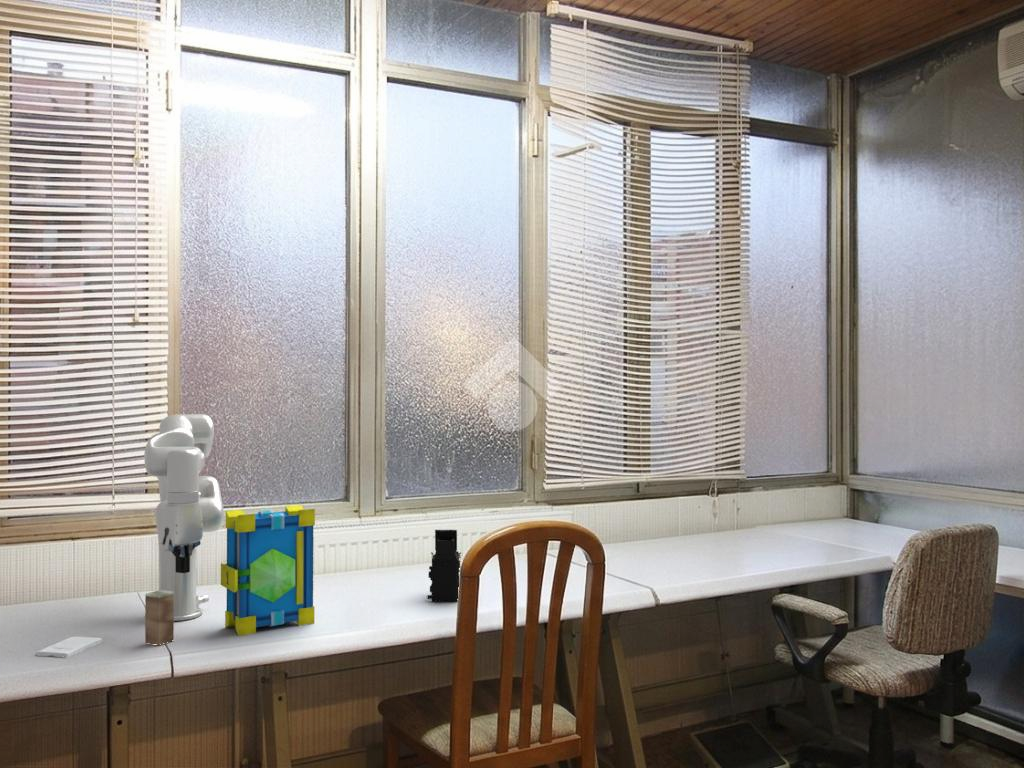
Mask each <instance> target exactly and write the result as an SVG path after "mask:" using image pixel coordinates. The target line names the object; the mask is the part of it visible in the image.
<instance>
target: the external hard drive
mask: <svg viewBox="0 0 1024 768" xmlns="http://www.w3.org/2000/svg"><path fill="white" fill-rule="evenodd" d="M99 642H101V643H102V638H101V637H92V636H91V637H89V636H88V637H87V636H74V635H73V636H70V637H68V638H65V639H63V640H61V641H58V642H56V643H54V644H52V645H49V646H47V647H44V648H42V649H39V650H37V651H35V656H36V655H37V657H38V656H39V657H54V656H60V657H59V658H66V657H67V658H69V656H70V657H71V655H72V656H74V655H76V654H79V653H81V652H83V651H85V650H87V649H86V648H88V649H90V648H92V647H93V646H92V645H94V644H96V645H98V644H97V643H99ZM99 644H100V643H99ZM91 646H92V647H91ZM94 646H95V645H94ZM89 647H90V648H89ZM84 649H85V650H84ZM82 650H83V651H82ZM80 651H81V652H80ZM78 652H79V653H78ZM75 653H76V654H75ZM73 654H74V655H73ZM62 656H64V657H62Z"/></svg>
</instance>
